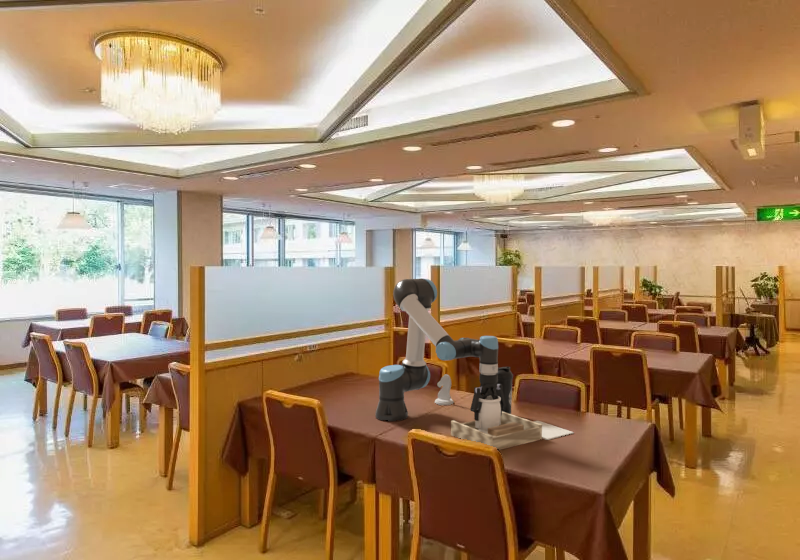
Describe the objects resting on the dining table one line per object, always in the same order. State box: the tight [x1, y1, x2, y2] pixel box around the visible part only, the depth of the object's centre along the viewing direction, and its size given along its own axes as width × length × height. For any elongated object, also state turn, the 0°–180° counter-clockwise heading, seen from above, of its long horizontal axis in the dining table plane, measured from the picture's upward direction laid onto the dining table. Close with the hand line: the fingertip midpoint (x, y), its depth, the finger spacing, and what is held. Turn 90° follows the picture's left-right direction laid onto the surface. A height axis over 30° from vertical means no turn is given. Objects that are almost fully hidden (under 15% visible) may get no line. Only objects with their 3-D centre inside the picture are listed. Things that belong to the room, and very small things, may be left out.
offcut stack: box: [487, 422, 524, 437], centre depth 212 cm, size 6×18×6 cm, turn 124°
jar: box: [478, 395, 501, 434], centre depth 220 cm, size 11×10×15 cm
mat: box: [533, 420, 575, 441], centre depth 225 cm, size 20×16×1 cm
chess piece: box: [434, 373, 454, 406], centre depth 271 cm, size 10×10×15 cm
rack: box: [450, 411, 543, 451], centre depth 216 cm, size 24×28×6 cm
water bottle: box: [496, 366, 514, 414], centre depth 248 cm, size 10×10×23 cm
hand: (488, 425), depth 220 cm, fingers closed on jar, 10 cm apart
